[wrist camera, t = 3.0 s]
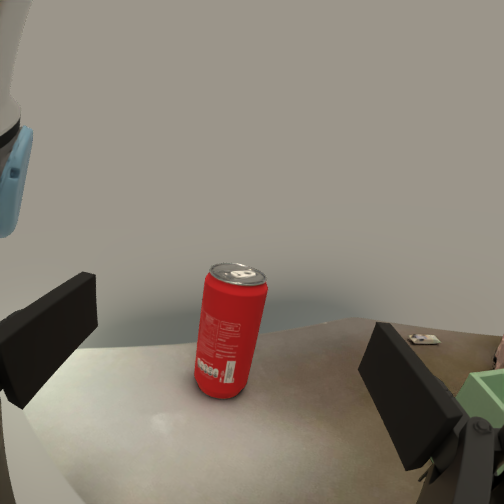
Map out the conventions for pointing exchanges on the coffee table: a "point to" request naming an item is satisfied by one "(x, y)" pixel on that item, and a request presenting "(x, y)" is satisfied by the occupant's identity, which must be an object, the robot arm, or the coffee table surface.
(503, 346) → the toy car
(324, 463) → the coffee table surface
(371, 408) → the coffee table surface
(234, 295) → the beverage can
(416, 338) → the granola bar
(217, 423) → the coffee table surface
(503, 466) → the open square storage bin
